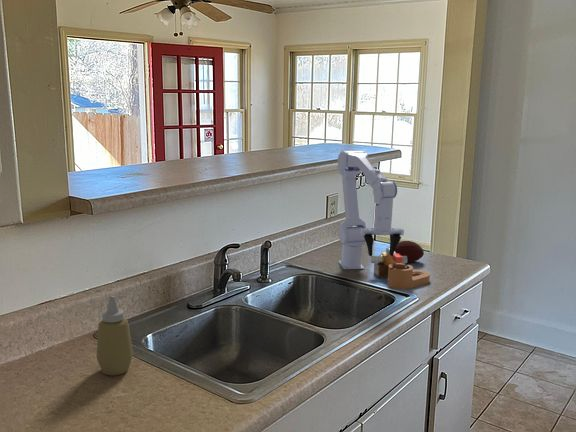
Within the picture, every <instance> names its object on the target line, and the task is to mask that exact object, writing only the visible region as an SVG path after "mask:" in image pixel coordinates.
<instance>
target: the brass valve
mask: <svg viewBox="0 0 576 432" xmlns="http://www.w3.org/2000/svg"><path fill="white" fill-rule="evenodd" d="M402 257H403V259H402V263H403V264H407V256H402ZM393 263H396V262H395V261H394V260H393V259H392V256H390V255H389V254H387V253H386V251H381V253H380V255H372V256H370V264H373V274H374V275H375V276H376V277H377V279H388V268H389V265H390V264H393Z"/></svg>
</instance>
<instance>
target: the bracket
mask: <svg viewBox="0 0 576 432" xmlns="http://www.w3.org/2000/svg"><path fill="white" fill-rule="evenodd" d="M430 277H431V273H429V271H425V270H422V269H414V266H413V265H411V264H407V265H406V263H393V264H390V265H389V268H388V278H387V283H386V284H387V286H388V287H389V288H392V289H396V290H409V289H412V288H416V287H419V286H422V285H426V284H428V283H430Z"/></svg>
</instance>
